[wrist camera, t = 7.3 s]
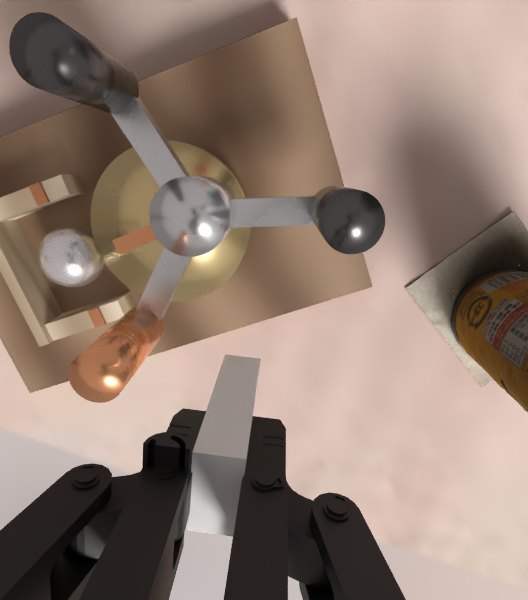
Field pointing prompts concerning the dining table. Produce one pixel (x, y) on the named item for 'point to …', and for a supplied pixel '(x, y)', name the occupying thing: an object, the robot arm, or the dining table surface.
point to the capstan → (165, 204)
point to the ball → (70, 257)
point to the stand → (198, 132)
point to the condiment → (484, 305)
